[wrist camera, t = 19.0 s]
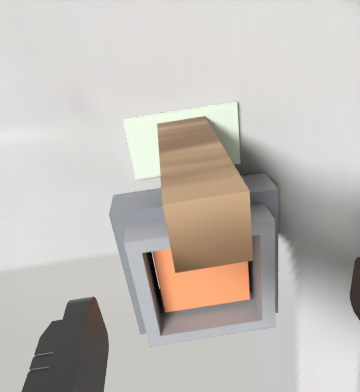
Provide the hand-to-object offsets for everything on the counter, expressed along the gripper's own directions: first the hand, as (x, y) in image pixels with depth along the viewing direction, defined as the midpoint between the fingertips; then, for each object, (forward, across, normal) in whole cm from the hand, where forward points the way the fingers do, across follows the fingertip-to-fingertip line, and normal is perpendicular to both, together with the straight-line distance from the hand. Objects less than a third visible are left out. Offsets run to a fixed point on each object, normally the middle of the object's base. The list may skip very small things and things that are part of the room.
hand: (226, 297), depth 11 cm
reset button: (+15, 0, +10) cm, 18 cm away
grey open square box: (+16, 0, +10) cm, 19 cm away
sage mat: (+16, 0, 0) cm, 16 cm away
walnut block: (+16, 0, 0) cm, 16 cm away
